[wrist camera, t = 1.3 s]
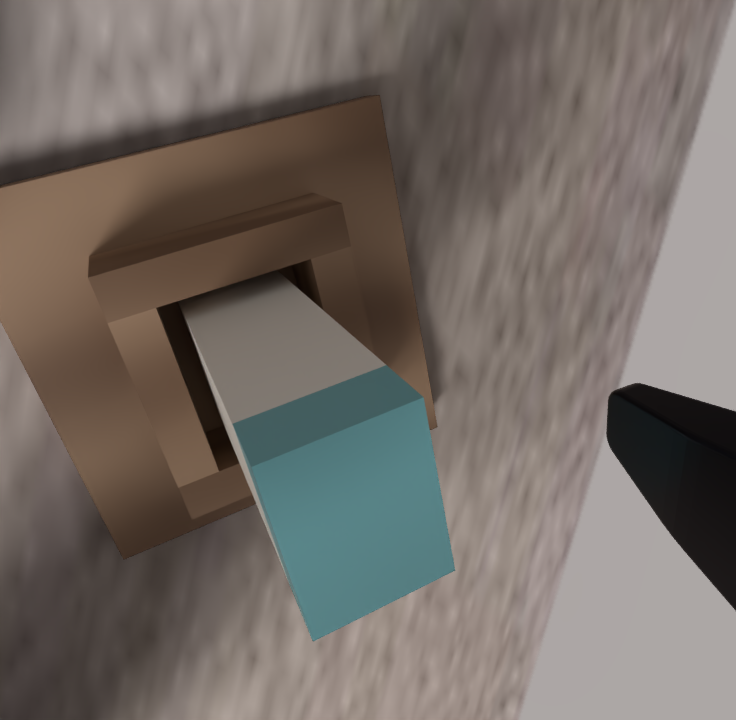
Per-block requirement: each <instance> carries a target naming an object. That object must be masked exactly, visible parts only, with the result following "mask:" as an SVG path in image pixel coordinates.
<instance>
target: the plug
mask: <svg viewBox="0 0 736 720" xmlns="http://www.w3.org/2000/svg"><path fill="white" fill-rule="evenodd" d="M178 303H179V306H180V308H181V311H182V314H183V317H184V319H185V322H186V325H187V328H188V330H189V333H190V336H191V338H192V341H193V344H194V347H195V349H196V352H197V355H198V358H199V360H200V363H201V366H202V369H203V371H204V374H205V377H206V380H207V382H208V385H209V388H210V390H211V393H212V396H213V399H214V401H215V404H216V407H217V410H218V412H219V415H220V417H221V419H222V422H223V424H224V427H225V429H226V432H227V434H228V436H229V439H230V441H231V444H232V446H233V449H234V451H235V453H236V456H237V458H238V461H239V463H240V466H241V468H242V470H243V473H244V475H245V478H246V480H247V483H248V485H249V487H250V490H251V492H252V495H253V497H254V500H255V502H256V504H257V507H258V509H259V512H260V514H261V517H262V519H263V521H264V524H265V526H266V529H267V531H268V534H269V536H270V538H271V541H272V543H273V546H274V548H275V551H276V553H277V555H278V558H279V560H280V563H281V565H282V568H283V570H284V572H285V575H286V577H287V580H288V582H289V585H290V587H291V589H292V592H293V594H294V597H295V599H296V602H297V604H298V606H299V609H300V611H301V614H302V616H303V619H304V621H305V623H306V626H307V628H308V631H309V633H310V636H311V638H312V640H313V641H315V640H317V639H319V638H321V637H323V636H325V635H327V634H329V633H331V632H333V631H335V630H337V629H339V628H341V627H343V626H345V625H347V624H349V623H351V622H353V621H355V620H357V619H359V618H361V617H363V616H365V615H367V614H369V613H371V612H373V611H375V610H377V609H379V608H381V607H383V606H385V605H387V604H389V603H391V602H393V601H395V600H397V599H399V598H401V597H403V596H405V595H407V594H409V593H411V592H413V591H415V590H417V589H419V588H421V587H423V586H425V585H427V584H429V583H431V582H433V581H435V580H437V579H439V578H441V577H443V576H445V575H447V574H449V573H451V572H453V571H455V567H454V562H453V556H452V551H451V545H450V540H449V534H448V529H447V523H446V518H445V512H444V507H443V501H442V496H441V490H440V485H439V479H438V474H437V468H436V463H435V457H434V452H433V446H432V441H431V435H430V430H429V424H428V419H427V413H426V407H425V402H424V397H423V396H422V395H420V394H419V393H418V392H417V391H416V390H415V389H413V388H412V387H411V386H410V385H409V384H408V383H407V382H405V381H404V380H403V379H402V378H401V377H400V376H398V375H397V374H396V373H395V372H394V371H393V370H392V369H390V368H389V367H388V366H387V365H386V364H385V363H383V362H382V361H381V360H380V359H379V358H378V357H377V356H375V355H374V354H373V353H372V352H371V351H370V350H368V349H367V348H366V347H365V346H364V345H363V344H362V343H360V342H359V341H358V340H357V339H356V338H355V337H353V336H352V335H351V334H350V333H349V332H348V331H347V330H345V329H344V328H343V327H342V326H341V325H340V324H338V323H337V322H336V321H335V320H334V319H333V318H332V317H330V316H329V315H328V314H327V313H326V312H325V311H323V310H322V309H321V308H320V307H319V306H318V305H316V304H315V303H314V302H313V301H312V300H311V299H310V298H308V297H307V296H306V295H305V294H304V293H303V292H301V291H300V290H299V289H298V288H297V287H296V286H295V285H293V284H292V283H291V282H290V281H289V280H288V279H286V278H285V277H284V276H283V275H282V274H281V273H280V272H278V271H277V270H275V271H271V272H268V273H265V274H262V275H259V276H256V277H252V278H249V279H246V280H243V281H240V282H237V283H233V284H230V285H227V286H224V287H221V288H218V289H215V290H211V291H208V292H205V293H202V294H199V295H196V296H192V297H189V298H186V299H183V300H180V301H178Z"/></svg>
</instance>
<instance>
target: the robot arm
mask: <svg viewBox="0 0 736 720" xmlns="http://www.w3.org/2000/svg"><path fill="white" fill-rule="evenodd" d="M606 434H607V440H608V443H609V446H610V448H611V450H612V451H613V453H614V454H615V456H616V457H617V459H618V460H619V462H620V463H621V464H622V466H623V467H624V469H625V470H626V472H627V473H628V474H629V476H630V477H631V479H632V480H633V482H634V483H635V485H636V486H637V487H638V489H639V490H640V492H641V493H642V495H643V496H644V497H645V499H646V500H647V502H648V503H649V505H650V506H651V507H652V509H653V510H654V512H655V513H656V515H657V516H658V518H659V519H660V520H661V522H662V523H663V525H664V526H665V527H666V529H667V530H668V531H669V532H670V534H671V535H672V536H673V538H674V539H675V540H676V541H677V543H678V544H679V545H680V546H681V547H682V549H683V550H684V551H685V552H686V553H687V555H688V556H689V557H690V558H691V559H692V560H693V562H694V563H695V564H696V565H697V566H698V567H699V569H700V570H701V571H702V572H703V573H704V574H705V576H706V577H707V578H708V579H709V580H710V581H711V582H712V584H713V585H714V586H715V587H716V588H717V589H718V591H719V592H720V593H721V594H722V595H723V596H724V597H725V599H726V600H727V601H728V602H729V603H730V605H731V606H732V607H733V608H734V609H735V610H736V411H732V410H729V409H726V408H722V407H719V406H716V405H712V404H709V403H705V402H702V401H699V400H695V399H692V398H689V397H685V396H682V395H679V394H675V393H671V392H668V391H665V390H661V389H658V388H655V387H652V386H648V385H645V384H641V383H635V384H631V385H628V386H625V387H623V388H620V389H617V390H614V391H613V392H612V393H611V394H610V396H609V399H608V414H607V432H606Z"/></svg>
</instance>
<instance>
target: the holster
mask: <svg viewBox="0 0 736 720" xmlns="http://www.w3.org/2000/svg"><path fill="white" fill-rule="evenodd" d="M275 270H277V271H278V272H280V273H281V274H282V275H283V276H284V277H285V278H286V279H288V280H289V281H290V282H291V283H292V284H293V285H295V286H296V287H297V288H298V289H299V290H300V291H301V292H303V293H304V294H305V295H306V296H307V297H308V298H310V299H311V300H312V301H313V302H314V303H315V304H316V305H318V306H319V307H320V308H321V309H322V310H323V311H325V312H326V313H327V314H328V315H329V316H330V317H332V318H333V319H334V320H335V321H336V322H337V323H338V324H340V325H341V326H342V327H343V328H344V329H345V330H347V331H348V332H349V333H350V334H351V335H352V336H353V337H355V338H356V339H357V340H358V341H359V342H360V343H362V344H363V345H364V346H365V347H366V348H367V349H368V350H370V351H371V352H372V353H373V354H374V355H375V356H377V357H378V358H379V359H380V360H381V361H382V362H383V363H385V364H386V365H387V366H388V367H389V368H390V369H392V370H393V371H394V372H395V373H396V374H397V375H398V376H400V377H401V378H402V379H403V380H404V381H405V382H407V383H408V384H409V385H410V386H411V387H412V388H413V389H415V390H416V391H417V392H418V393H419V394H420V395H422V396H423V397H424V402H425V407H426V413H427V419H428V424H429V430H432V429H434V428H436V427H437V422H436V416H435V410H434V405H433V399H432V393H431V388H430V382H429V376H428V370H427V365H426V359H425V353H424V347H423V342H422V336H421V330H420V324H419V319H418V313H417V307H416V301H415V296H414V290H413V284H412V278H411V273H410V267H409V261H408V255H407V250H406V244H405V238H404V232H403V227H402V221H401V215H400V209H399V204H398V198H397V192H396V187H395V181H394V175H393V169H392V164H391V158H390V152H389V146H388V141H387V135H386V129H385V123H384V118H383V112H382V106H381V100H380V95H374V96H364V97H360V98H356V99H352V100H348V101H344V102H340V103H336V104H332V105H328V106H323V107H319V108H315V109H311V110H307V111H303V112H299V113H295V114H291V115H287V116H283V117H278V118H274V119H270V120H266V121H262V122H258V123H254V124H250V125H246V126H242V127H238V128H233V129H229V130H225V131H221V132H217V133H213V134H209V135H205V136H201V137H197V138H193V139H188V140H184V141H180V142H176V143H172V144H168V145H164V146H160V147H156V148H152V149H147V150H143V151H139V152H135V153H131V154H127V155H123V156H119V157H115V158H111V159H107V160H102V161H98V162H94V163H90V164H86V165H82V166H78V167H74V168H70V169H66V170H62V171H57V172H53V173H49V174H45V175H41V176H37V177H33V178H29V179H25V180H21V181H17V182H12V183H8V184H4V185H0V321H1V323H2V325H3V327H4V329H5V331H6V333H7V335H8V337H9V339H10V341H11V343H12V344H13V346H14V348H15V350H16V352H17V354H18V356H19V358H20V360H21V362H22V364H23V366H24V368H25V370H26V372H27V374H28V375H29V377H30V379H31V381H32V383H33V385H34V387H35V389H36V391H37V393H38V395H39V397H40V399H41V401H42V403H43V404H44V406H45V408H46V410H47V412H48V414H49V416H50V418H51V420H52V422H53V424H54V426H55V428H56V430H57V432H58V434H59V435H60V437H61V439H62V441H63V443H64V445H65V447H66V449H67V451H68V453H69V455H70V457H71V459H72V461H73V463H74V465H75V466H76V468H77V470H78V472H79V474H80V476H81V478H82V480H83V482H84V484H85V486H86V488H87V490H88V492H89V494H90V495H91V497H92V499H93V501H94V503H95V505H96V507H97V509H98V511H99V513H100V515H101V517H102V519H103V521H104V523H105V525H106V526H107V528H108V530H109V532H110V534H111V536H112V538H113V540H114V542H115V544H116V546H117V548H118V550H119V552H120V554H121V556H122V557H123V559H126V558H129V557H131V556H134V555H136V554H138V553H141V552H143V551H145V550H148V549H150V548H152V547H155V546H157V545H160V544H162V543H164V542H167V541H169V540H171V539H174V538H176V537H178V536H181V535H183V534H186V533H188V532H190V531H193V530H195V529H197V528H200V527H202V526H204V525H207V524H209V523H212V522H214V521H216V520H219V519H221V518H223V517H226V516H228V515H231V514H233V513H235V512H238V511H240V510H242V509H245V508H247V507H249V506H252V505H254V504H256V502H255V500H254V497H253V495H252V492H251V490H250V487H249V485H248V483H247V480H246V478H245V475H244V473H243V470H242V468H241V466H240V463H239V461H238V458H237V456H236V453H235V451H234V449H233V446H232V444H231V441H230V439H229V436H228V434H227V432H226V429H225V427H224V424H223V422H222V419H221V417H220V415H219V412H218V410H217V407H216V404H215V401H214V399H213V396H212V393H211V390H210V388H209V385H208V382H207V380H206V377H205V374H204V371H203V369H202V366H201V363H200V360H199V358H198V355H197V352H196V349H195V347H194V344H193V341H192V338H191V336H190V333H189V330H188V328H187V325H186V322H185V319H184V317H183V314H182V311H181V308H180V306H179V303H178V301H180V300H183V299H186V298H189V297H192V296H196V295H199V294H202V293H205V292H208V291H211V290H215V289H218V288H221V287H224V286H227V285H230V284H233V283H237V282H240V281H243V280H246V279H249V278H252V277H256V276H259V275H262V274H265V273H268V272H271V271H275Z"/></svg>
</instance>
